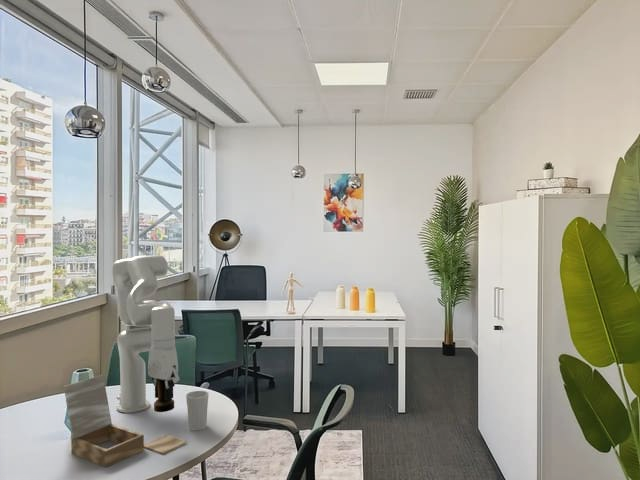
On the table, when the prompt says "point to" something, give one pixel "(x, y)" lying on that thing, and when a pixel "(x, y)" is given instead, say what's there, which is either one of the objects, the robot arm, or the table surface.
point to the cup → (197, 409)
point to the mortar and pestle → (162, 399)
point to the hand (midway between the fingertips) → (164, 397)
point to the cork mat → (164, 444)
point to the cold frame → (97, 424)
